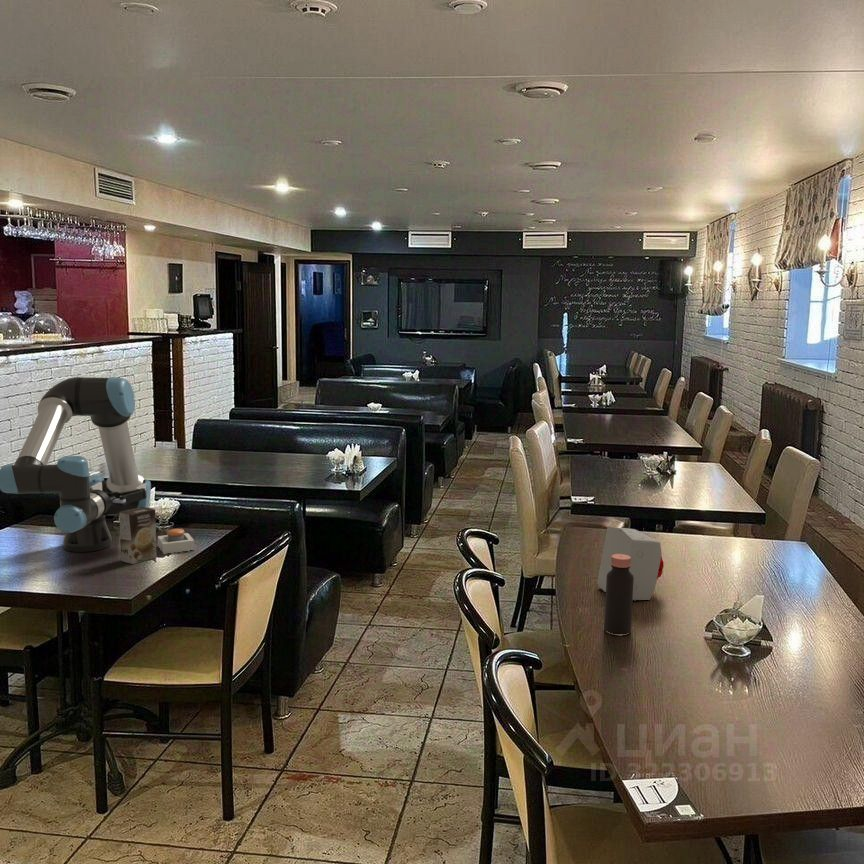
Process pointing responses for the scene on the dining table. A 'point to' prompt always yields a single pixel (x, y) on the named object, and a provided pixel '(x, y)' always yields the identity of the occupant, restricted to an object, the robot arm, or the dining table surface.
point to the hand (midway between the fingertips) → (122, 487)
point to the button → (175, 535)
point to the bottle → (619, 595)
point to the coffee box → (137, 535)
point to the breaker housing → (175, 544)
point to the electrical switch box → (633, 559)
